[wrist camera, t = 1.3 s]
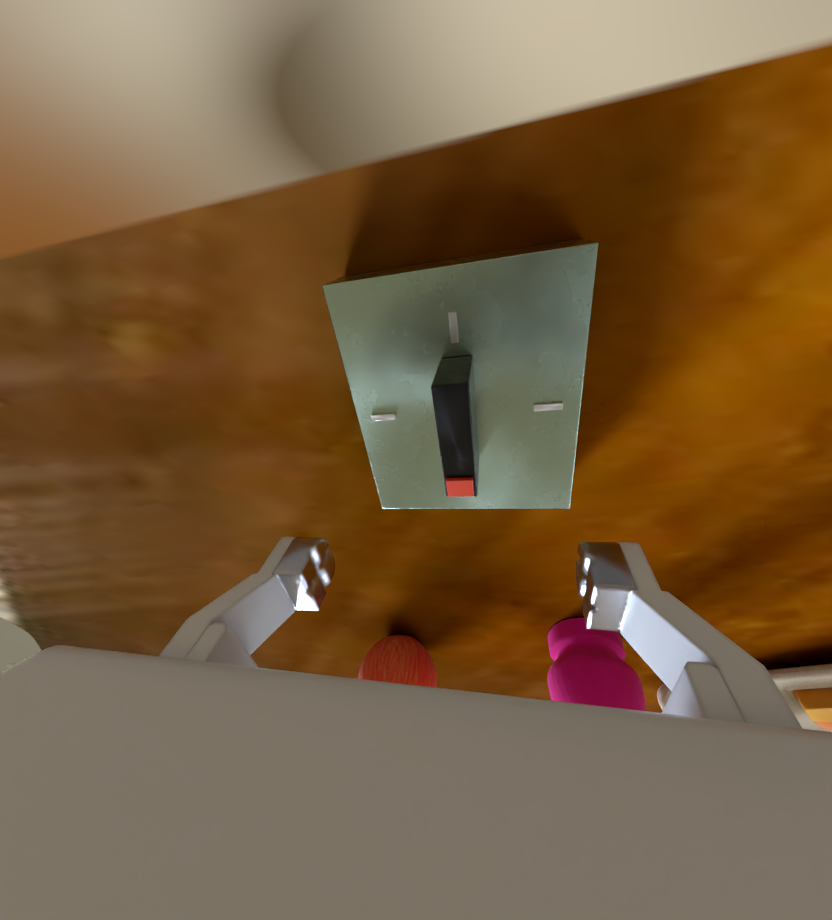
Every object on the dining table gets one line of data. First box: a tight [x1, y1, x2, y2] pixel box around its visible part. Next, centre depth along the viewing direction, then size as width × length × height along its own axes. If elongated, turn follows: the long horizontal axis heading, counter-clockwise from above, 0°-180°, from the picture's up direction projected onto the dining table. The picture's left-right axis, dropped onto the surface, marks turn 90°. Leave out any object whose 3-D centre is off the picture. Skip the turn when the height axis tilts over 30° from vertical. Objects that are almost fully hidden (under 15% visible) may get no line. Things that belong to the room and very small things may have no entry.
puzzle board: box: [657, 664, 832, 732], centre depth 32 cm, size 18×19×4 cm
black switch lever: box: [431, 356, 479, 497], centre depth 18 cm, size 6×2×4 cm, turn 9°
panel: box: [322, 238, 598, 509], centre depth 20 cm, size 14×12×3 cm
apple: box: [358, 635, 437, 688], centre depth 36 cm, size 8×8×8 cm
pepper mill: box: [547, 618, 646, 711], centre depth 25 cm, size 7×7×20 cm
